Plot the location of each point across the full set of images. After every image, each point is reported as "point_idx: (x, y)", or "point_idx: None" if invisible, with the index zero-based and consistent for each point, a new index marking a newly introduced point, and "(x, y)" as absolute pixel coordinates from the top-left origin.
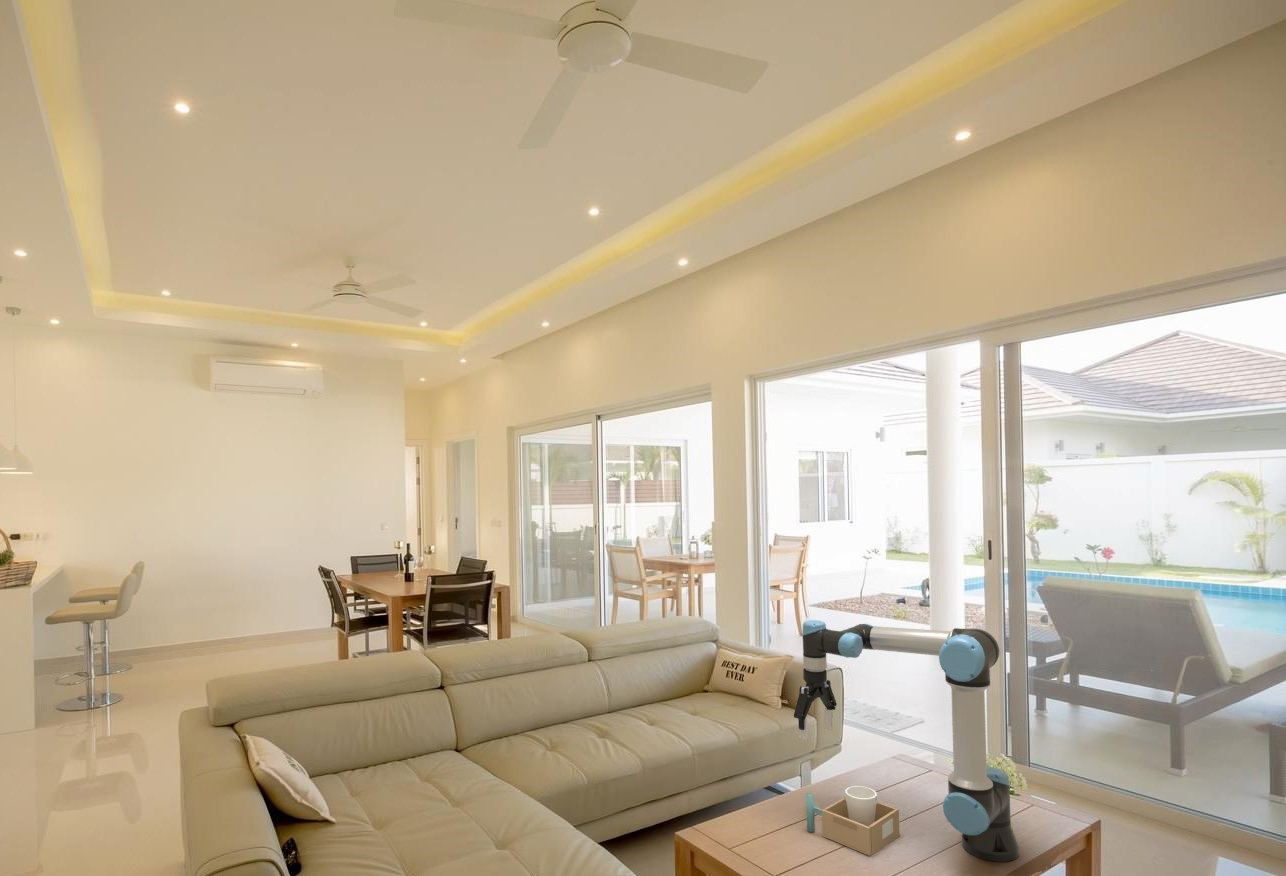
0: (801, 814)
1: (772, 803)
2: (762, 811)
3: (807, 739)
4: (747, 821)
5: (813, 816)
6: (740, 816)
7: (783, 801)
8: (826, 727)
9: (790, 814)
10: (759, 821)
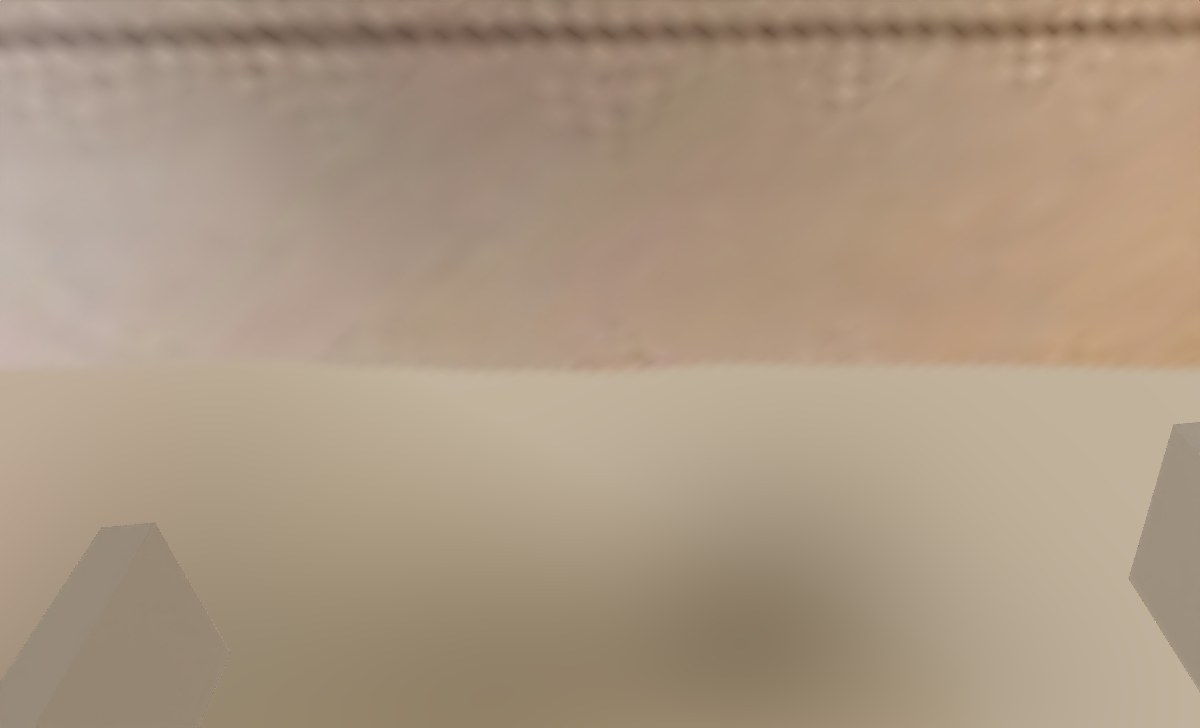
0: (753, 106)
1: (778, 348)
2: (936, 303)
3: (1183, 435)
4: (1151, 255)
5: None
6: (1112, 332)
7: (690, 328)
8: (193, 641)
9: (821, 157)
10: (1093, 208)
